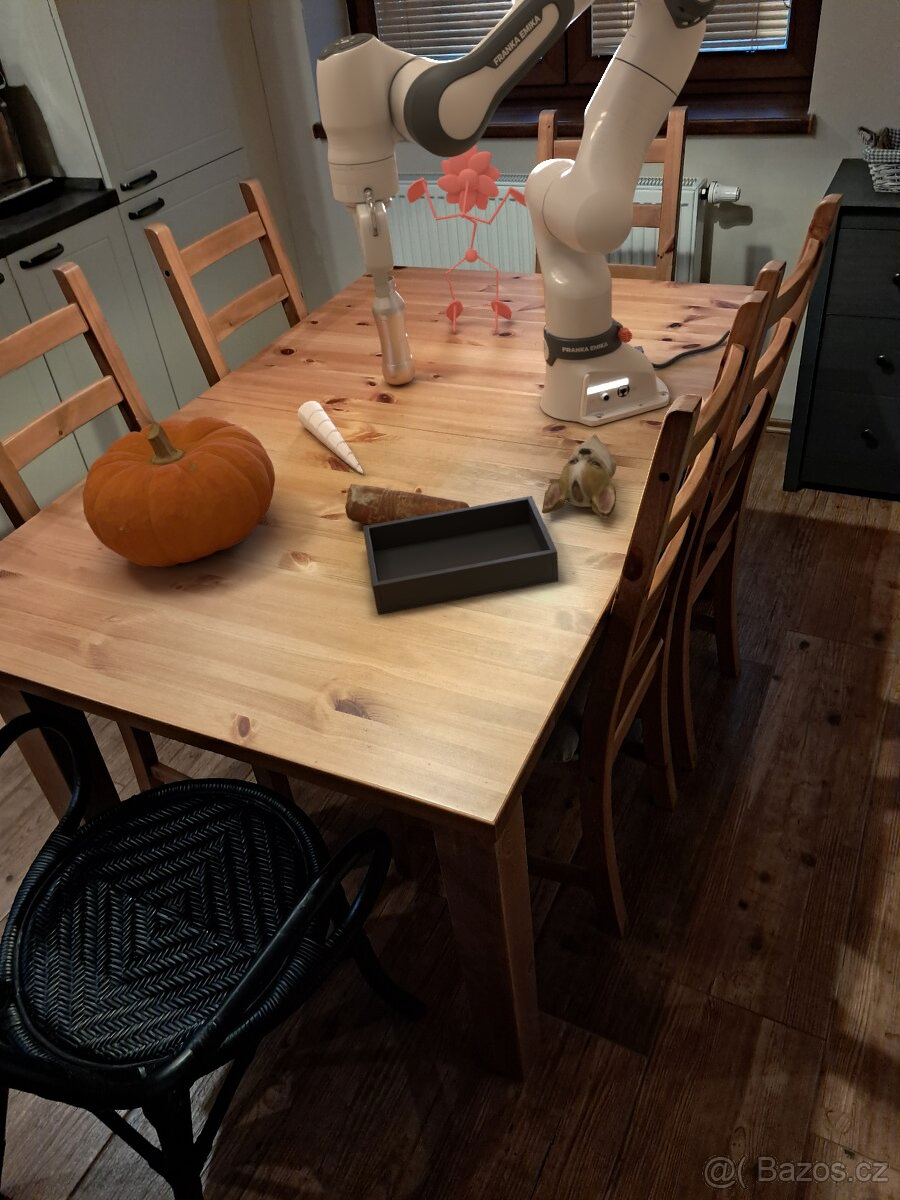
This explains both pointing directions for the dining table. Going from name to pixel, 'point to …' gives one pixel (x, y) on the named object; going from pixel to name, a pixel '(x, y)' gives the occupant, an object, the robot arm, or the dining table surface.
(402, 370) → the plastic bottle
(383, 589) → the tray
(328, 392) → the dining table surface
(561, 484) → the ceramic sculpture
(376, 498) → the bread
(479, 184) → the figurine
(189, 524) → the pumpkin
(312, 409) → the unicorn horn
